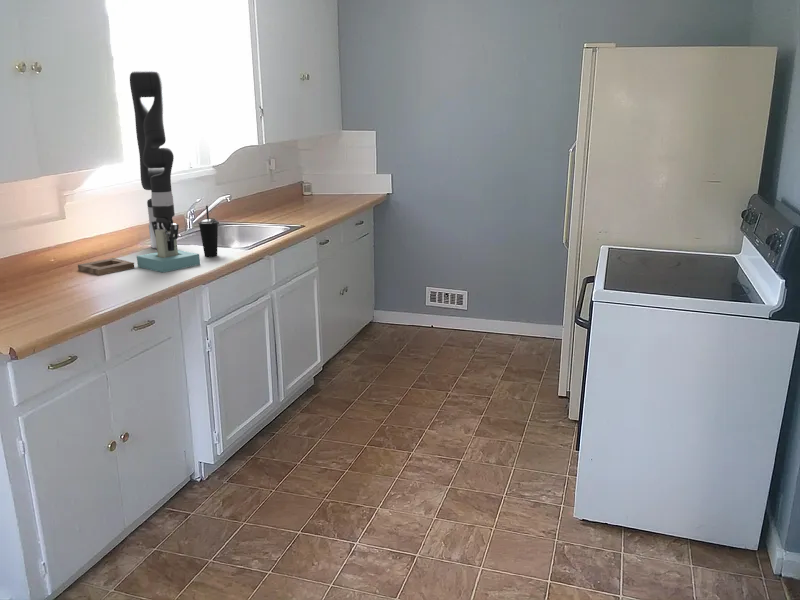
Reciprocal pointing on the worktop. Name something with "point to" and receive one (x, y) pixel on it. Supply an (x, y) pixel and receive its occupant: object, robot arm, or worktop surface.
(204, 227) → the drinking cup
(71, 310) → the worktop surface
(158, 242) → the skincare box
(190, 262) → the socket block
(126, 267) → the frame
